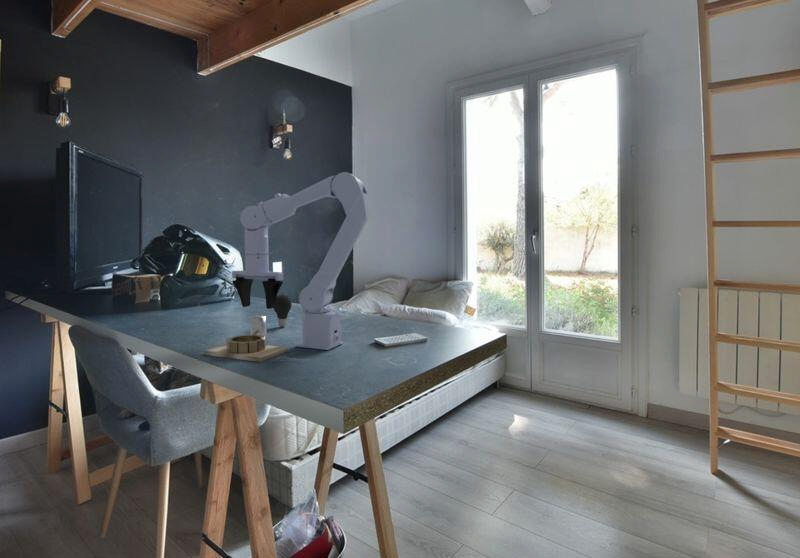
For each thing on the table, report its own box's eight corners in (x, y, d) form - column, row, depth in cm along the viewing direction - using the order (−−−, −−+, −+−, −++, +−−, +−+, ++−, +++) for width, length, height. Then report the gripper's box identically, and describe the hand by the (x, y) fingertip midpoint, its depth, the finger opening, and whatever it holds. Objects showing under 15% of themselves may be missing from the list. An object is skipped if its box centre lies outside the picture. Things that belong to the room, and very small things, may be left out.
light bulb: (287, 329, 137) (286, 296, 137) (269, 328, 139) (269, 295, 138) (295, 325, 143) (294, 293, 142) (278, 325, 144) (277, 293, 143)
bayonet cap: (259, 340, 123) (258, 314, 122) (271, 341, 121) (271, 315, 121) (245, 344, 118) (244, 317, 117) (258, 346, 116) (257, 318, 116)
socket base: (287, 351, 111) (287, 337, 111) (260, 362, 102) (260, 346, 102) (234, 345, 117) (234, 331, 117) (204, 354, 108) (204, 339, 107)
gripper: (290, 254, 119) (290, 306, 120) (244, 253, 124) (245, 303, 125) (273, 255, 112) (274, 310, 113) (225, 254, 117) (227, 307, 119)
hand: (258, 307), depth 119 cm, fingers open, 7 cm apart
